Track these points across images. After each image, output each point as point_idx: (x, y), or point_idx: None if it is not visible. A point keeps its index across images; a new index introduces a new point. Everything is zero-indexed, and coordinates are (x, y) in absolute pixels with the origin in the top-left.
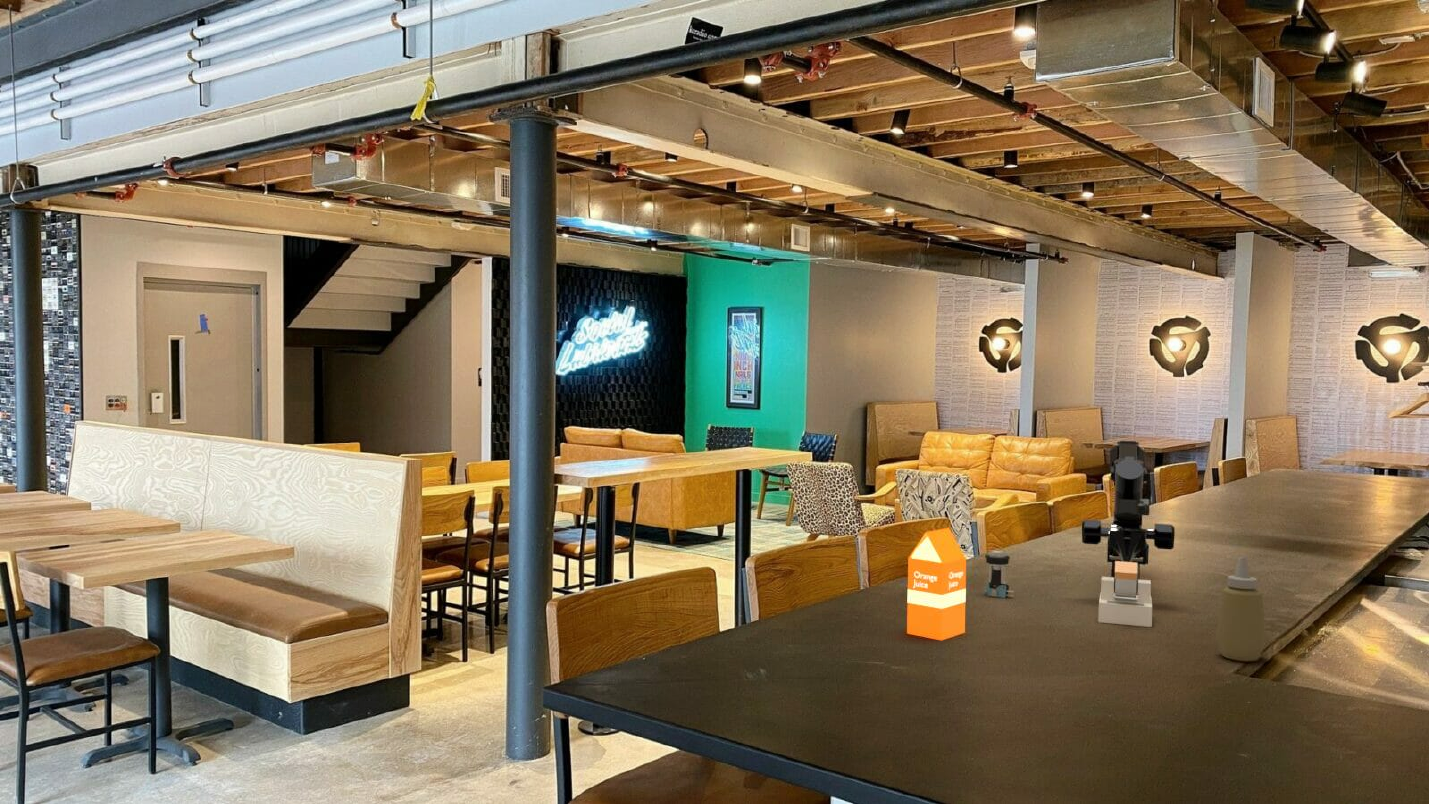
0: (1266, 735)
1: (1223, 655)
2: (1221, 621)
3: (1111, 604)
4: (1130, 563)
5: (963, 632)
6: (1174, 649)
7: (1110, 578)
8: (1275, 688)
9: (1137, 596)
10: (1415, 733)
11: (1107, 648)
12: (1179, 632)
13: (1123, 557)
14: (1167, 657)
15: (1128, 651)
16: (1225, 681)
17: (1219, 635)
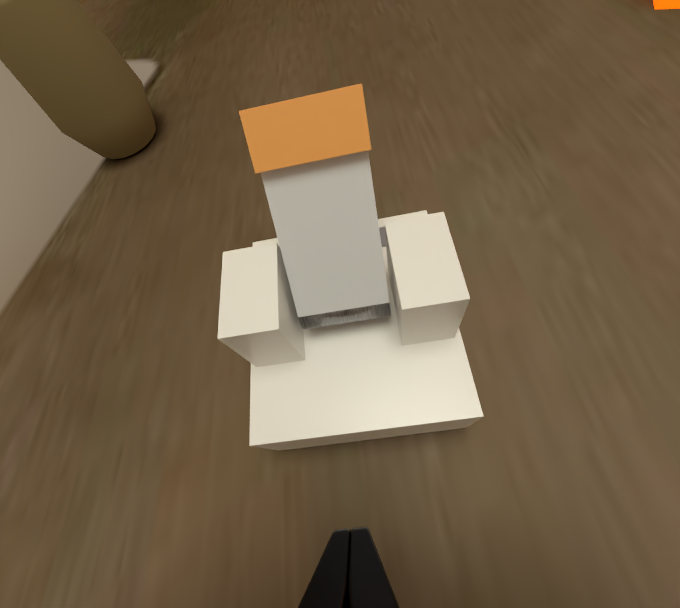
0: None
1: (154, 122)
2: (113, 46)
3: (383, 220)
4: (278, 103)
5: (654, 4)
6: (234, 126)
7: (413, 273)
8: (128, 43)
9: (308, 409)
10: None
11: (352, 70)
12: (208, 262)
13: (381, 585)
14: (249, 80)
15: (314, 74)
16: (182, 34)
17: (137, 76)
